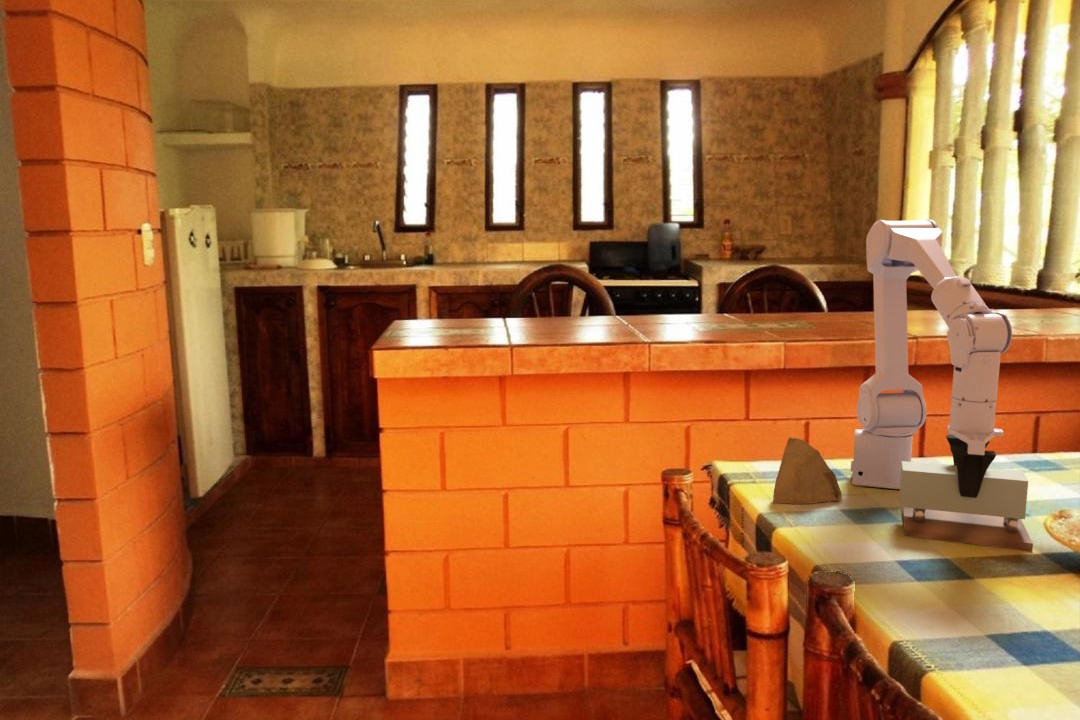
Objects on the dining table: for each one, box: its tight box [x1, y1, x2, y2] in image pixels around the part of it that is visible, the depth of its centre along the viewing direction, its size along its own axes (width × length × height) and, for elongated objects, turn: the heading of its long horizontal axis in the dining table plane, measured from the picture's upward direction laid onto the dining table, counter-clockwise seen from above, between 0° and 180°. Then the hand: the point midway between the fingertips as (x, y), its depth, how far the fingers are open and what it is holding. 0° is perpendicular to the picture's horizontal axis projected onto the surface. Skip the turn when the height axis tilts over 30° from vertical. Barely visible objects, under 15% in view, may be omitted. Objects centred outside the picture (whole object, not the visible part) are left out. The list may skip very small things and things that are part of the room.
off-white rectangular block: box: [899, 461, 1029, 520], centre depth 125 cm, size 16×5×6 cm, turn 70°
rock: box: [772, 437, 843, 505], centre depth 138 cm, size 11×9×10 cm
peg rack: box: [901, 507, 1034, 551], centre depth 126 cm, size 16×11×3 cm
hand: (966, 490), depth 125 cm, fingers closed on off-white rectangular block, 5 cm apart
